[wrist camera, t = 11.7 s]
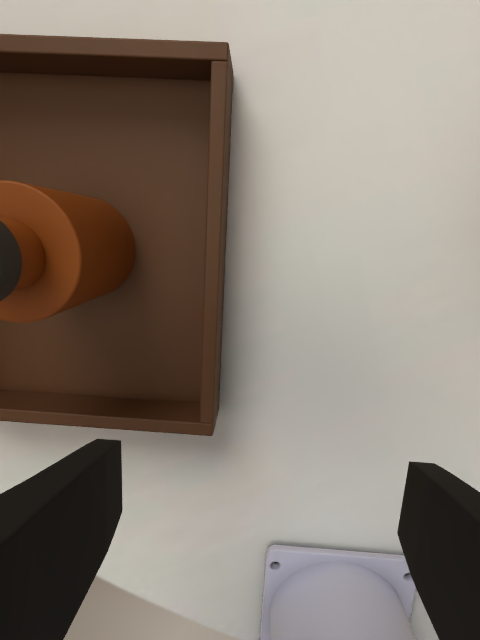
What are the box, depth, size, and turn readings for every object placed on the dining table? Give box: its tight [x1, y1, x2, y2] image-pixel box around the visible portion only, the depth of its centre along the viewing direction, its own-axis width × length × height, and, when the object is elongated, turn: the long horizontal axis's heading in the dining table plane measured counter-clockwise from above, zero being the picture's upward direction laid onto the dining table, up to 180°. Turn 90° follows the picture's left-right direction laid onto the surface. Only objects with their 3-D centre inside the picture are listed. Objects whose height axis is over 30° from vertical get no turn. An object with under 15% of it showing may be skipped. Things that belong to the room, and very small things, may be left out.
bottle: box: [0, 180, 135, 323], centre depth 14 cm, size 4×4×8 cm
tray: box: [0, 34, 233, 436], centre depth 17 cm, size 15×12×3 cm
